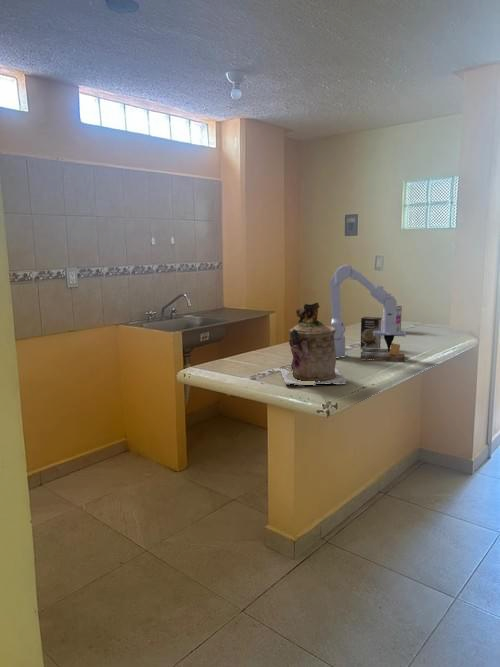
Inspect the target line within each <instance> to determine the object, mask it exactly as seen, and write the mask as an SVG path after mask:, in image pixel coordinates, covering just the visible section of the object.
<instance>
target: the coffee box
mask: <svg viewBox="0 0 500 667" xmlns="http://www.w3.org/2000/svg"><path fill="white" fill-rule="evenodd" d="M373 331H382V317H375V316H374V317H373V316H363V317H361V319H360V349H361V348H381V343H382V342H381V340H382V336H373Z"/></svg>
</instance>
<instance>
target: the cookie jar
mask: <svg viewBox="0 0 500 667" xmlns="http://www.w3.org/2000/svg"><path fill="white" fill-rule="evenodd" d="M319 308H320V305H319V302H316V301H315V302H314V303H310V302H309V303H308V302H307V303H304V304H303V306H302V307H299V308H297V309H296V310H295V311H296V316H297V317H298V318H299V319H298V323H297V324H296V325H295V326H293V327H292V328H290V329H289V331H288V335H289V339H288V340H289V341H288V342H289V343H288V344H289V346H290V352H291V355H292V361H291V364H290V365H291V366H290V367H291V370H292V371H293V373H292V374H293V377H294V378H295V379H297V380H301V381H315V382H316V383H314V384H325V383H345V384H346V383H347V380H348V379H347V378H345V377H344V375H343V374H341V372H340V371H339V370H338V368H337V367H336V364H337V359H336V350H335V344H334V334H335V332H336V329H335V328H334V327H331V326H327V325H325V324H324V323H322V321H319V320H318V315H319V313H318V312H319ZM286 369H287V368H280V373H281V376H282V379H283V378H284V379H283V381H284V383H286V384H285V385H290V384H294V385H293V386H295V385H303V383H301V382H298V381H294V380H291V379H290V378H291V377H290V376H289V375H291V373H289V371H287V370H286ZM318 381H320V382H318Z"/></svg>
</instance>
